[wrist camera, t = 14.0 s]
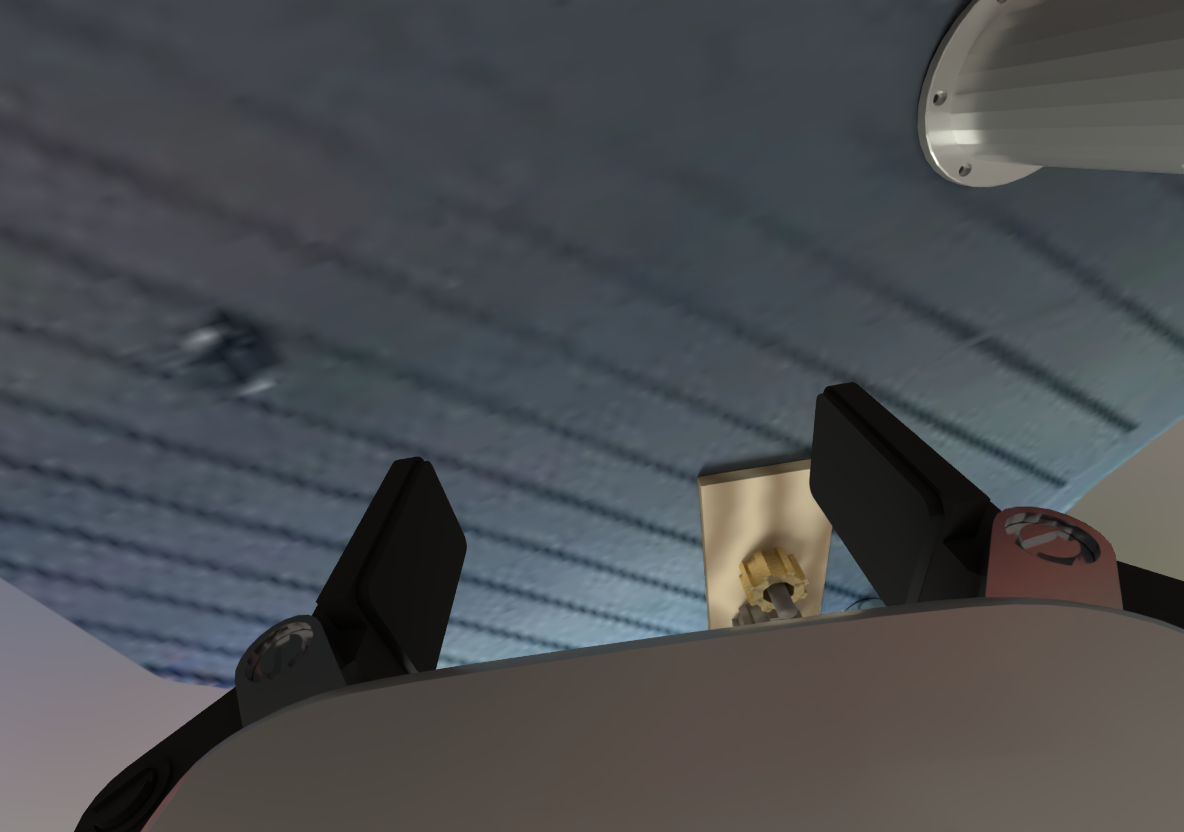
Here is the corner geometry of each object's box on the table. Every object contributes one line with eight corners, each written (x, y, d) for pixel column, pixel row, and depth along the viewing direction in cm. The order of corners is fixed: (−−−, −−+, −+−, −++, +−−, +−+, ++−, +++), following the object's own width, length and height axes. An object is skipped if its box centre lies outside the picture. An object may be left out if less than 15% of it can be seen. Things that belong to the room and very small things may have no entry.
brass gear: (797, 543, 51) (810, 568, 48) (793, 581, 55) (806, 607, 52) (738, 552, 52) (748, 577, 49) (738, 589, 55) (748, 615, 52)
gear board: (833, 455, 47) (874, 505, 40) (812, 624, 62) (840, 680, 55) (697, 477, 48) (716, 529, 41) (709, 639, 63) (724, 695, 56)
